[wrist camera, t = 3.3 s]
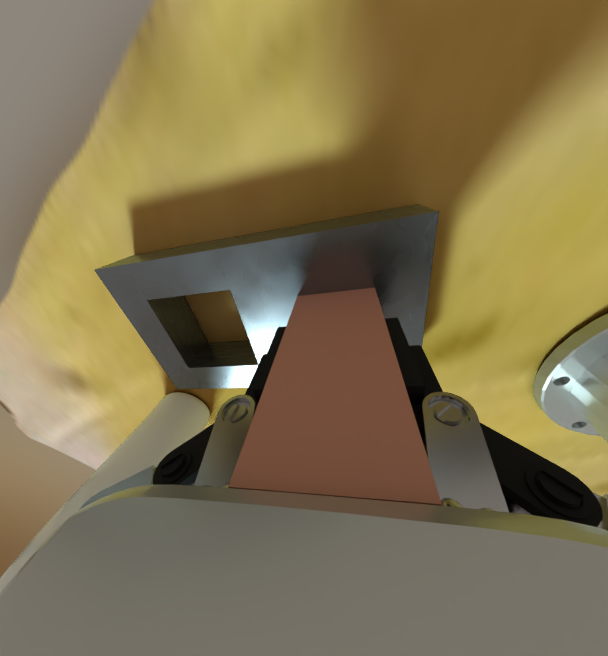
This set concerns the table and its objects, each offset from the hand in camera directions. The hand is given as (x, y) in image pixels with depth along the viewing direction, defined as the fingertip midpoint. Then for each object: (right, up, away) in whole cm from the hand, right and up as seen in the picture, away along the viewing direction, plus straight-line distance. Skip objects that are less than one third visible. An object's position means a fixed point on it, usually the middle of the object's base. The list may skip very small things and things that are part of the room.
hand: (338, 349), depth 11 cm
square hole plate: (-4, +3, +5) cm, 7 cm away
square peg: (0, +1, +2) cm, 2 cm away
